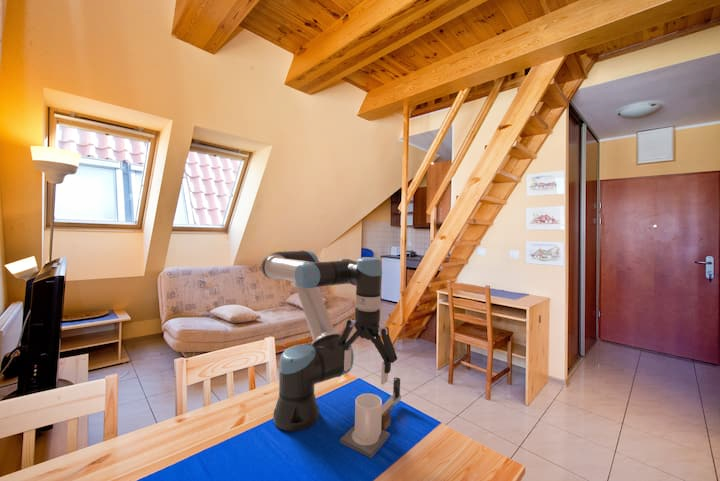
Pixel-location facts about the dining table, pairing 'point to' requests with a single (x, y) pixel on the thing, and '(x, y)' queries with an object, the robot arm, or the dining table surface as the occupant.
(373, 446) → the dock pad
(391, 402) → the crank handle
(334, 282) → the robot arm
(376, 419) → the mug
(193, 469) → the dining table surface
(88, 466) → the dining table surface
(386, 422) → the mount
